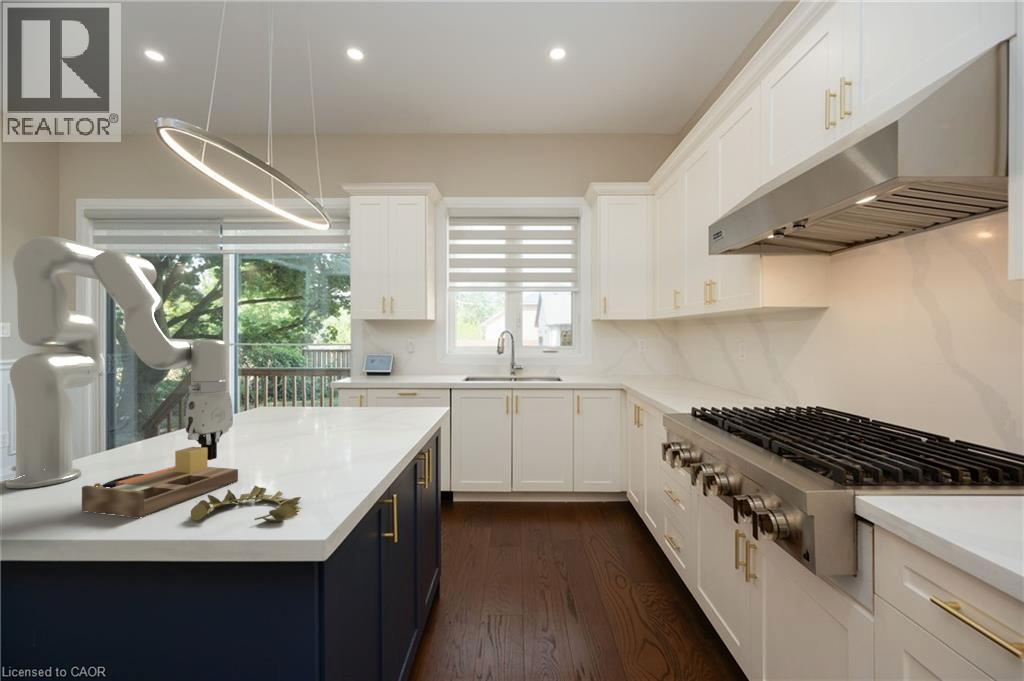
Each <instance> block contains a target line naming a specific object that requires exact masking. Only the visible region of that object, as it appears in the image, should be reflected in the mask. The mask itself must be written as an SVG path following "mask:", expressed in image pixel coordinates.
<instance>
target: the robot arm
mask: <svg viewBox="0 0 1024 681" xmlns="http://www.w3.org/2000/svg"><path fill="white" fill-rule="evenodd" d="M12 267H13V273H14V278H15V279H14V280H15V284H16V292H17V293H16V294H17V296H16V298H17V299H16V303H17V304H16V305H17V310H16V311H17V331H18V332H17V333H18V336H19V339H20V340H21V341H22V343H25V344H26V345H29V346H31V347H42V348H57V351H52V352H51V351H49V352H47V351H46V352H45V351H44V352H35V353H31V354H27V355H26V354H25V355H23V356H21V357H20V358H18V359H16V360H15V361H14V362H13V364H12V365H11V366H10V369H9V380H10V383H11V387H12V391H13V395H14V402H15V465H13V466H12V467H11V468H10V469H11V471H12V472H15V477H12V478H11V479H13V478H17V477H19V476H22V477H20V478H17V479H14V480H10V479H8V480H9V481H8V480H6V481H5V487H6V488H7V489H32V488H39V487H40V488H41V487H47V486H51V485H57V484H61V483H65V482H68V481H71V480H72V481H73V480H74V479H77V478H79V477H81V476H82V470H81V469H79V468H73V457H74V455H73V452H74V450H73V446H74V443H73V441H74V440H73V437H74V434H73V432H74V430H73V428H74V427H73V426H74V421H73V420H74V416H73V415H74V413H73V412H74V409H73V403H72V401H71V398H70V396H69V394H68V393H67V391H66V390H68V389H75V388H82V387H85V386H88V385H90V384H92V383H93V382H94V381H95V380H96V379H97V378H98V376H99V373H100V370H101V368H100V367H101V360H100V357H101V352H100V350H101V349H100V332H99V331H100V330H99V327H98V324H97V322H96V321H95V320H94V318H93V317H92V316H90V315H89V314H86V313H85V312H81V311H77V310H70V309H69V294H68V290H67V286H65V283H64V282H63V280H62V279H61V278H60V274H66V275H72V276H77V277H81V278H88V279H94V280H98V281H99V282H100V284H101V285H102V287H103V288H104V289H105V291H106V292H107V293H108V295H109V296H110V298H111V299H112V300H113V301H114V303H115V304H116V306H117V308H119V310H120V311H121V313H122V314H123V319H122V320H123V321H122V326H123V333H124V336H125V340H126V341H127V342H128V344H129V346H130V347H131V348H132V350H133V351H134V353H135V354H136V355H137V357H138V358H139V359H140V360H141V361H142V362H143V363H144V364H145V365H147V366H148V367H150V368H151V369H155V370H158V371H159V370H171V369H184V368H190V380H191V381H190V385H188V386H187V388H188V391H190V394H189V395H188V399H187V402H186V409H185V410H186V411H185V425H184V426H185V432H186V434H187V440H190V441H196V442H197V443H198V445H200V447H205V448H208V453H207V461H212V460H215V459H217V457H218V455H217V454H218V452H217V451H218V444H219V442H220V438H221V437H222V435H224V434H226V433H228V432H229V429H230V428H233V425H234V415H233V414H234V413H233V411H234V410H233V403H232V402H233V401H232V397H231V394H230V391H228V389H227V388H228V386H227V385H228V384H227V383H228V382H227V380H228V379H227V378H228V377H227V376H228V375H227V374H228V373H227V372H228V371H227V370H228V361H227V360H228V347H227V342H225V341H224V340H221V339H198V340H194V339H184V338H167V336H166V335H165V334H164V332H163V331H162V330H161V328H160V326H159V325H158V324H157V321H156V319H155V312H156V311H158V310H159V309H160V308H161V307H162V305H163V299H162V297H161V295H160V294H159V293H158V292H157V290H156V289H155V288H154V286H153V285H154V284H155V282H156V280H157V277H158V276H157V275H158V274H157V270H156V268H155V266H154V265H153V264H152V263H151V262H150V261H149V260H148V259H146V258H144V257H141V256H137V255H133V254H130V253H126V252H123V251H122V252H121V251H115V250H109V249H106V248H102V247H99V246H98V247H97V246H94V245H90V244H86V243H82V242H80V241H75V240H71V239H68V238H64V237H58V236H45V235H44V236H36V237H34V238H31V239H28V240H26V241H25V242H24V243H22V244H21V245H20V246H19V247H18V248H17V250H16V251H15V253H14V256H13V260H12ZM44 469H45V470H44ZM23 475H25V476H23Z"/></svg>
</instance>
